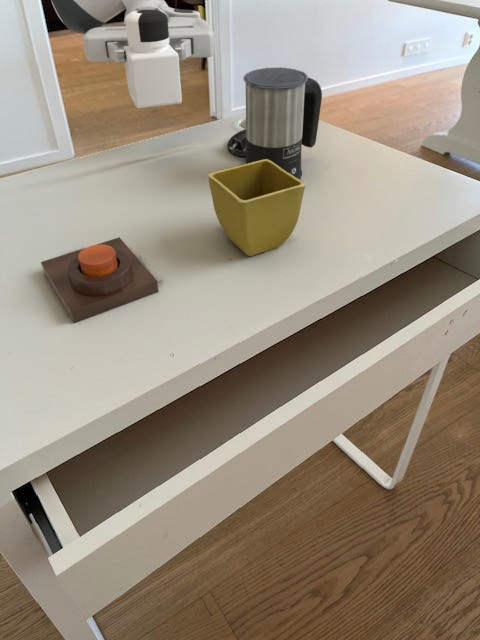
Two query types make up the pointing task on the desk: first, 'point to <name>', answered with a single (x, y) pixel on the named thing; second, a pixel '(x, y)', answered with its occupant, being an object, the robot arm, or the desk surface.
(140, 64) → the medicine bottle
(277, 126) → the milk frother
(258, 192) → the flower pot
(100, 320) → the desk surface
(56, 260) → the button base
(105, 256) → the button
